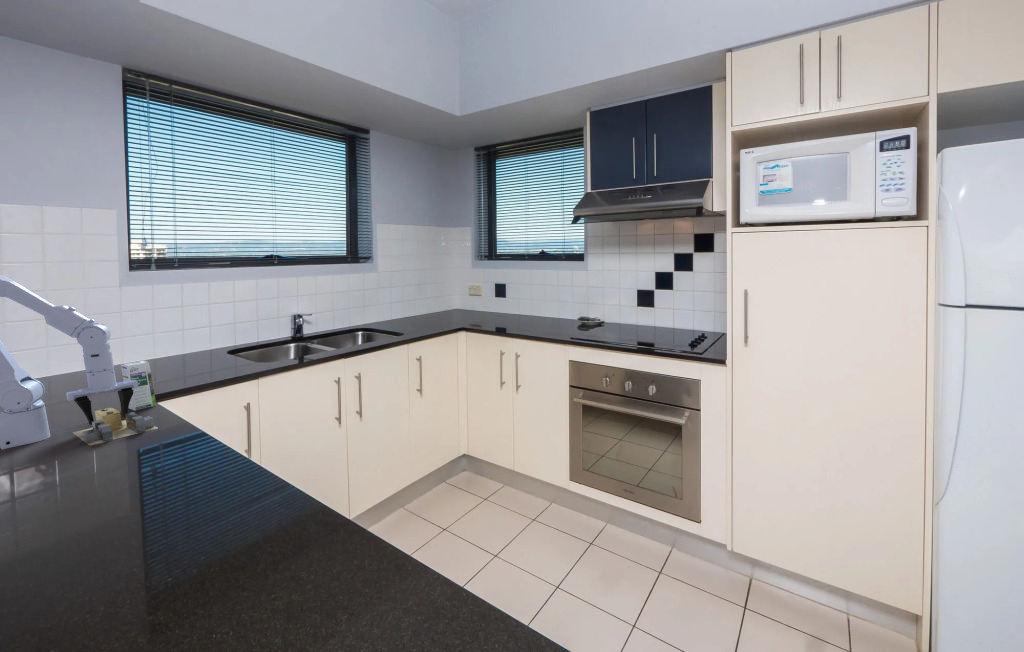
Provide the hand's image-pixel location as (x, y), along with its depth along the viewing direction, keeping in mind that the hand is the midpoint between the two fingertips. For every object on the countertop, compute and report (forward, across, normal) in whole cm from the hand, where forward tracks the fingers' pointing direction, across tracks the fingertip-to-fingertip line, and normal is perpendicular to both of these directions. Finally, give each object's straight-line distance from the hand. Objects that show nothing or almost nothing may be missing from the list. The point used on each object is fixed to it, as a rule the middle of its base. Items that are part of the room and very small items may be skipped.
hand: (108, 420), depth 132 cm
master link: (+2, 0, 0) cm, 2 cm away
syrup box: (+3, +12, +16) cm, 20 cm away
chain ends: (+2, 0, -10) cm, 10 cm away
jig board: (+3, 0, -5) cm, 6 cm away
